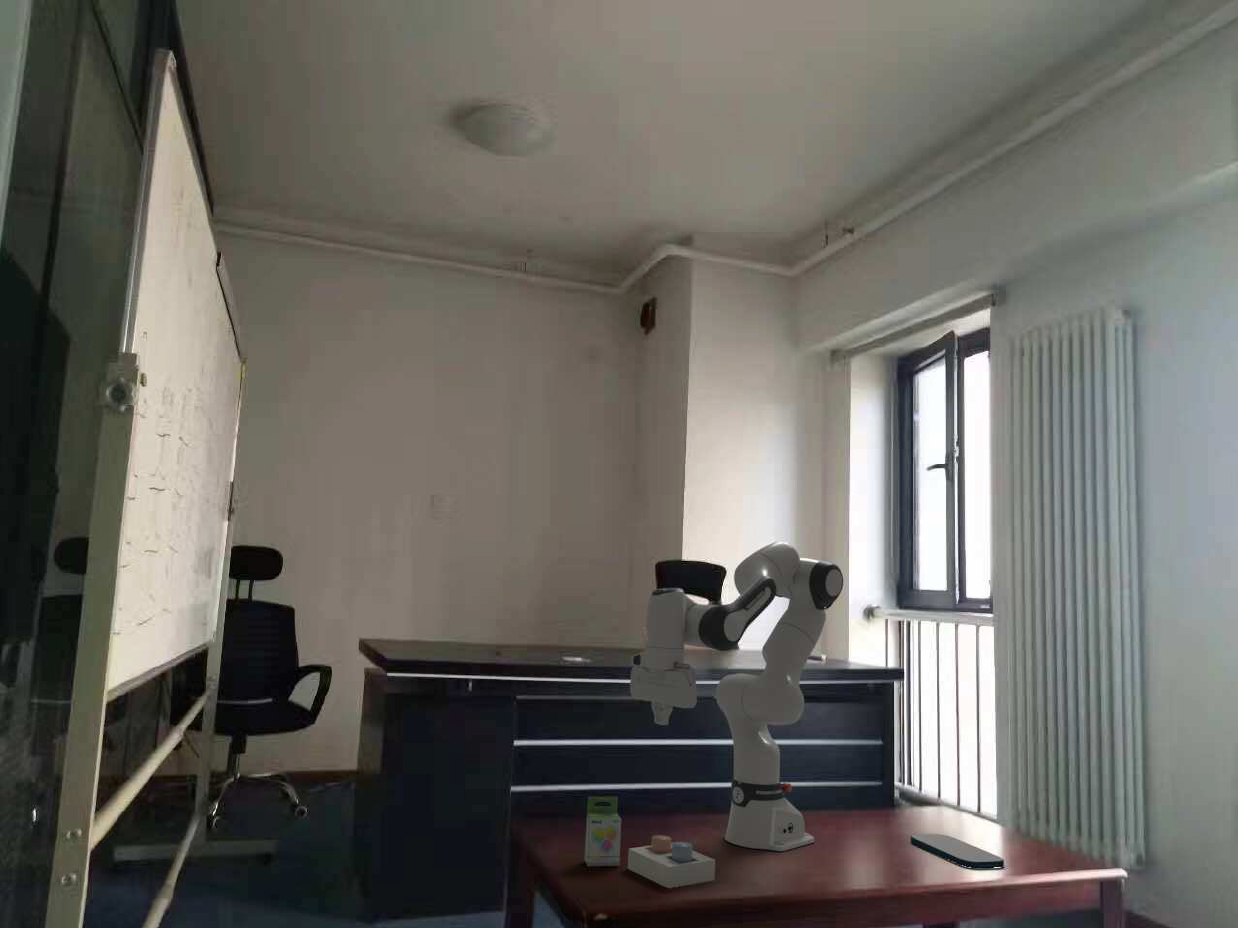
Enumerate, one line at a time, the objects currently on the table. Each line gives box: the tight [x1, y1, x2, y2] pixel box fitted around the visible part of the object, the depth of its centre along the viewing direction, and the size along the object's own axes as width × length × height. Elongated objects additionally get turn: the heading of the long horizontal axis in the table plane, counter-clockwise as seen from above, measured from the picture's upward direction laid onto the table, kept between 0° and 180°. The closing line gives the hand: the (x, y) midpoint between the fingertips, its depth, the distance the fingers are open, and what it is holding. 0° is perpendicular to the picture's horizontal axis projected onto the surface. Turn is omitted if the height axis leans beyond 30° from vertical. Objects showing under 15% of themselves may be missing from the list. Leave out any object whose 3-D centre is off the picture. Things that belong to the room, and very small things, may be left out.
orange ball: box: [650, 834, 673, 854], centre depth 187 cm, size 4×4×4 cm
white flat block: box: [627, 842, 716, 889], centre depth 184 cm, size 12×14×4 cm
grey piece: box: [672, 841, 694, 864], centre depth 181 cm, size 4×4×4 cm
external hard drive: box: [910, 833, 1005, 868], centre depth 212 cm, size 24×12×2 cm, turn 17°
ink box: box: [583, 796, 622, 867], centre depth 189 cm, size 7×4×13 cm, turn 103°
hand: (661, 724), depth 196 cm, fingers closed
